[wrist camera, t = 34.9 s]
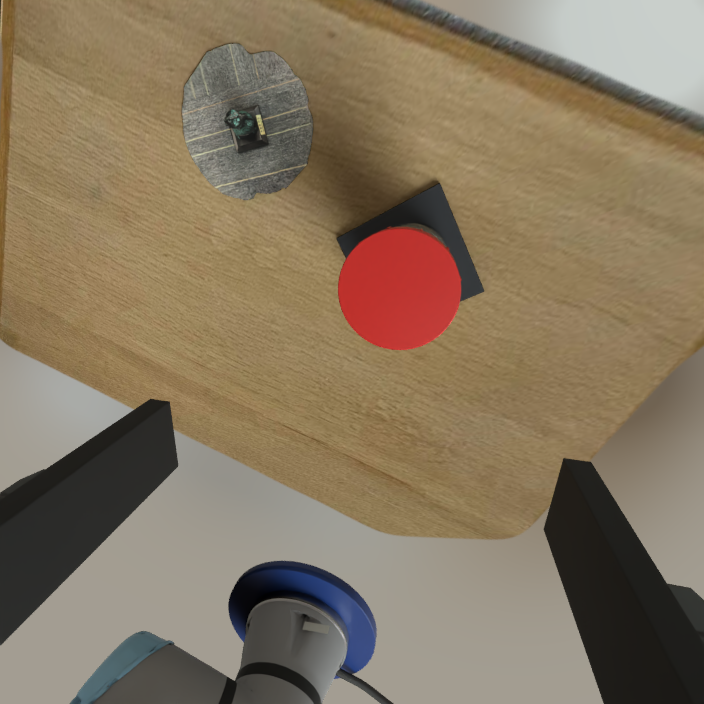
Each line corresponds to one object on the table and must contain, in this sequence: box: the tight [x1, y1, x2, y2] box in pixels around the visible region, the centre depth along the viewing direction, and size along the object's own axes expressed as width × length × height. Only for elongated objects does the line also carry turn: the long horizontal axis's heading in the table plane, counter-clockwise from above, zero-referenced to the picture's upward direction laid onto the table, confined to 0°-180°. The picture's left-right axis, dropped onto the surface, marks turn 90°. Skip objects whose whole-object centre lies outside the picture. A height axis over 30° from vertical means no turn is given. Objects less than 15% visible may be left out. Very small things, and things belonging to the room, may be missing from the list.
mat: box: [337, 183, 484, 301], centre depth 35 cm, size 10×10×1 cm
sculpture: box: [182, 43, 313, 200], centre depth 34 cm, size 12×9×8 cm
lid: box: [338, 226, 462, 350], centre depth 25 cm, size 8×8×2 cm
